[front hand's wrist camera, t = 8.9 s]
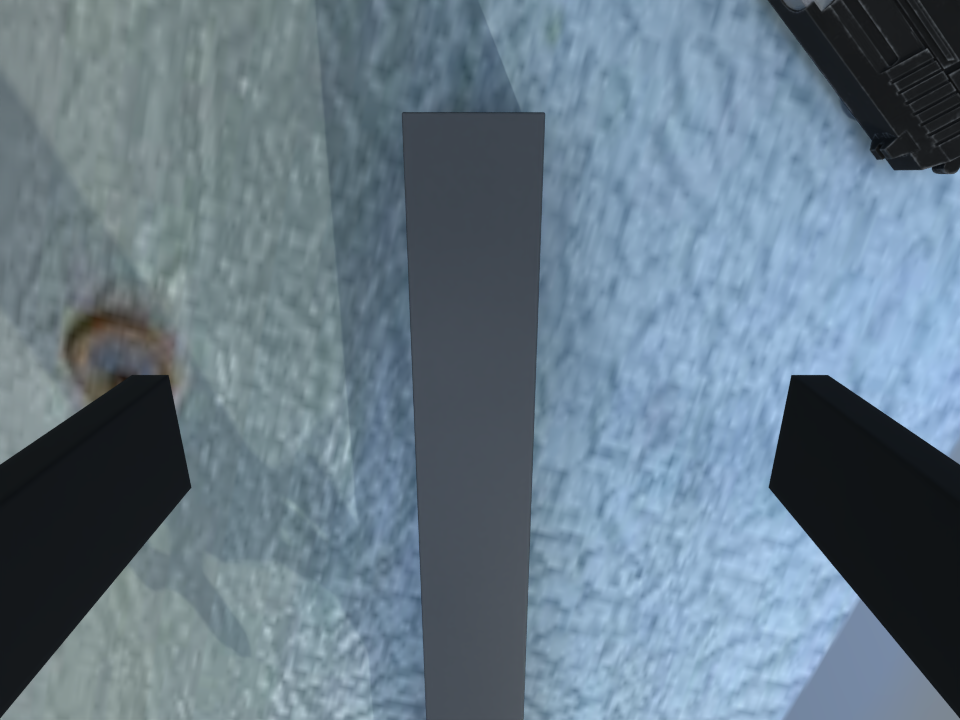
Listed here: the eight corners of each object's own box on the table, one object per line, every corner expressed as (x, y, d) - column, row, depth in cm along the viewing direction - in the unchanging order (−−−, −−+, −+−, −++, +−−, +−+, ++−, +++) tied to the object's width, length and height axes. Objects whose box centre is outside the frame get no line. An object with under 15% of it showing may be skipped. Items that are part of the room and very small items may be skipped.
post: (424, 123, 27) (401, 112, 19) (526, 123, 27) (545, 112, 19) (448, 952, 48) (441, 1106, 40) (505, 952, 48) (509, 1106, 40)
